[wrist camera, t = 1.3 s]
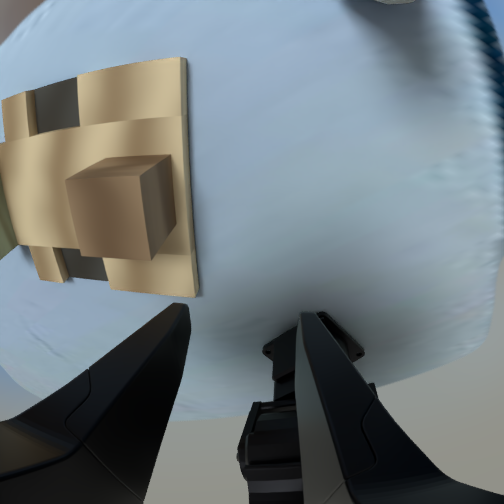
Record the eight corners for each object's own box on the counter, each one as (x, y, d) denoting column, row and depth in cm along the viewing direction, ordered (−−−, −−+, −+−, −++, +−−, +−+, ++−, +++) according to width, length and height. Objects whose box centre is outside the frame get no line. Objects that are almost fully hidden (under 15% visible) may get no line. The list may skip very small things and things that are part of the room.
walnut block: (170, 154, 17) (139, 176, 13) (176, 224, 19) (151, 261, 16) (105, 157, 18) (64, 180, 14) (115, 222, 20) (81, 256, 16)
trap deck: (186, 58, 15) (160, 52, 12) (199, 288, 23) (184, 325, 20) (-9, 106, 17) (-45, 116, 13) (26, 269, 25) (2, 294, 21)
